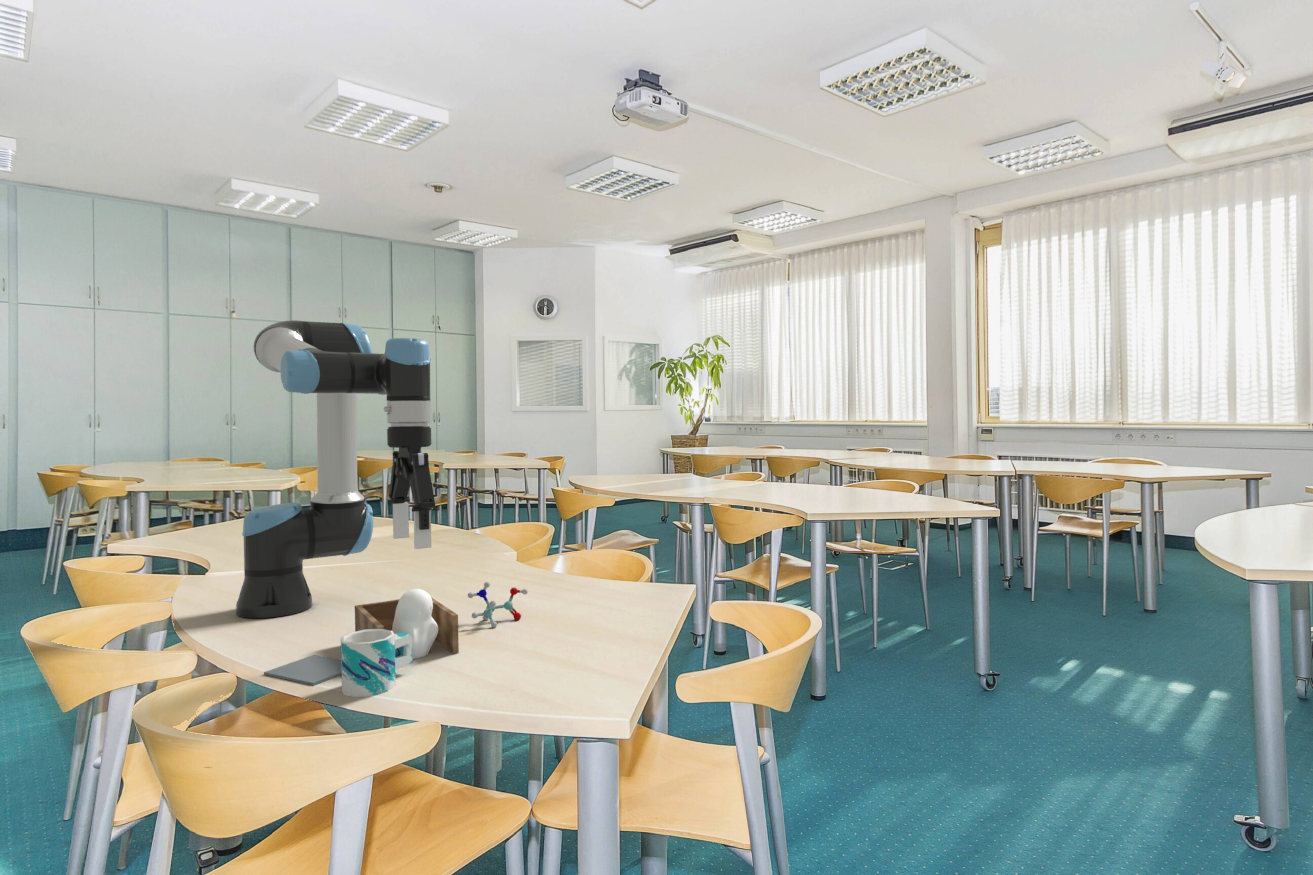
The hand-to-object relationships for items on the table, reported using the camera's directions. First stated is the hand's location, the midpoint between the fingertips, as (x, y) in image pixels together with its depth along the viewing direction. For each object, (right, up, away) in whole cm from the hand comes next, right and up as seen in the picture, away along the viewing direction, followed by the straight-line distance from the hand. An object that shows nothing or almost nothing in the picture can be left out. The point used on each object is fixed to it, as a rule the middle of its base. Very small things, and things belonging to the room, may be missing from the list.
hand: (411, 543), depth 134 cm
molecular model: (+10, -20, +22) cm, 31 cm away
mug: (-1, -21, -14) cm, 25 cm away
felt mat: (-14, -21, -7) cm, 26 cm away
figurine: (0, -21, +1) cm, 21 cm away
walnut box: (-3, -20, +5) cm, 21 cm away
